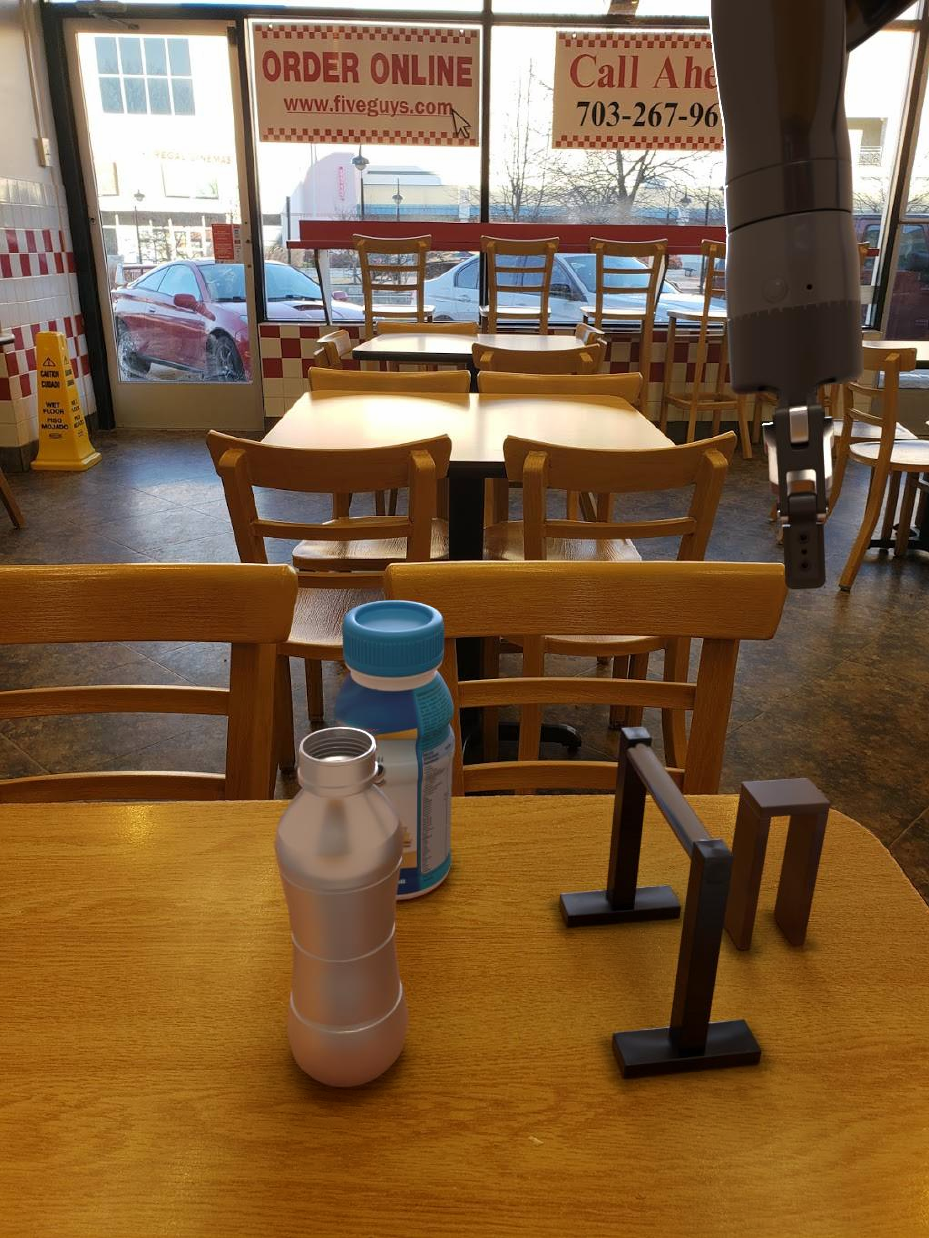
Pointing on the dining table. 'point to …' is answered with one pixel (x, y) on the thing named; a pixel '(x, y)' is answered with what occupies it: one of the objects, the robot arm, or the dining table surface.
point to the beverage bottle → (404, 726)
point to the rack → (704, 915)
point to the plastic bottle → (342, 911)
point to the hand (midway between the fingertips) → (804, 576)
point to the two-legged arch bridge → (798, 859)
